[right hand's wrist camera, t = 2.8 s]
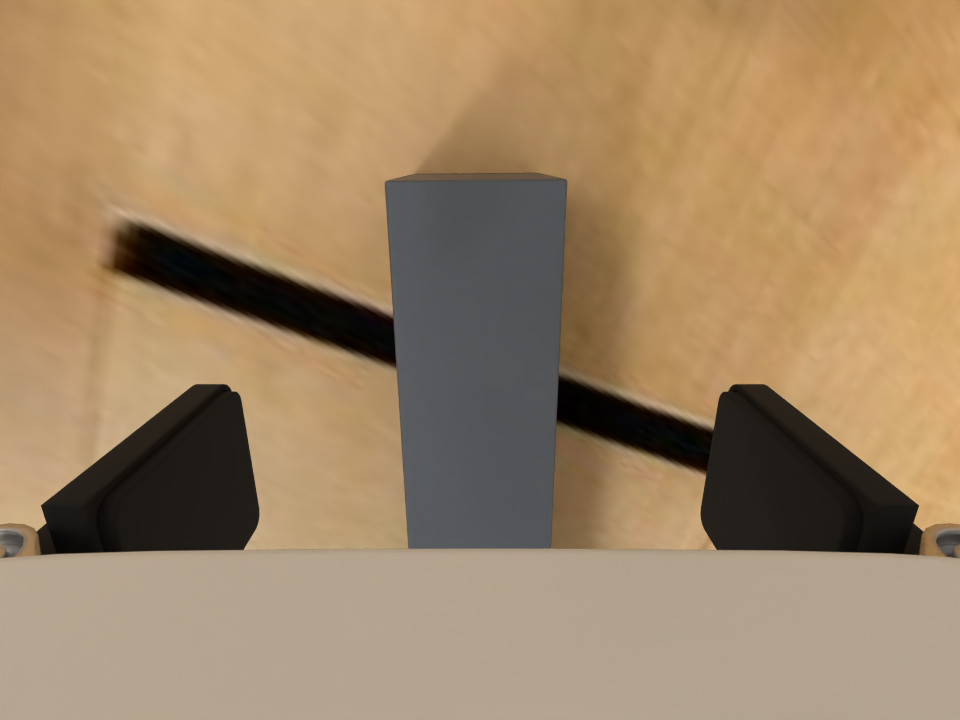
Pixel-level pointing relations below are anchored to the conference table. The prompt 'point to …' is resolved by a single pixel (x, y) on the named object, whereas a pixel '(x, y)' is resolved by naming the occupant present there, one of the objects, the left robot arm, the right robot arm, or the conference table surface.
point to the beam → (477, 354)
